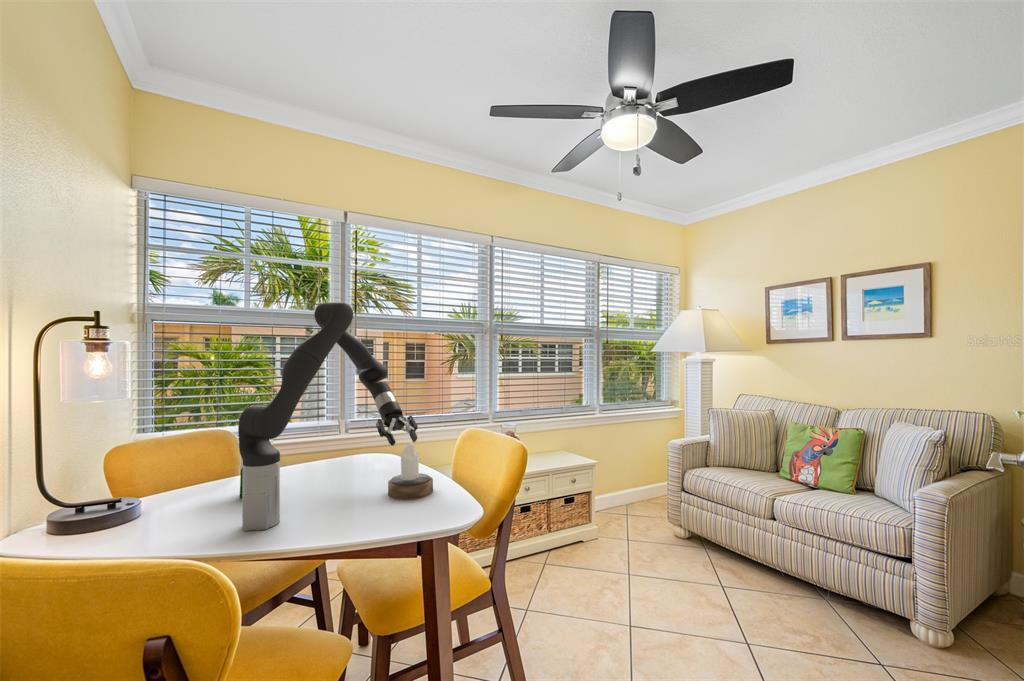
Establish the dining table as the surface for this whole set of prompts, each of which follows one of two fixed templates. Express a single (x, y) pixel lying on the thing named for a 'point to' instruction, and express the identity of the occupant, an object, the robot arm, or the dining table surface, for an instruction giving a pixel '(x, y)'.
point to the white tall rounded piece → (409, 463)
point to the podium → (410, 487)
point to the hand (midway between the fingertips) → (404, 442)
